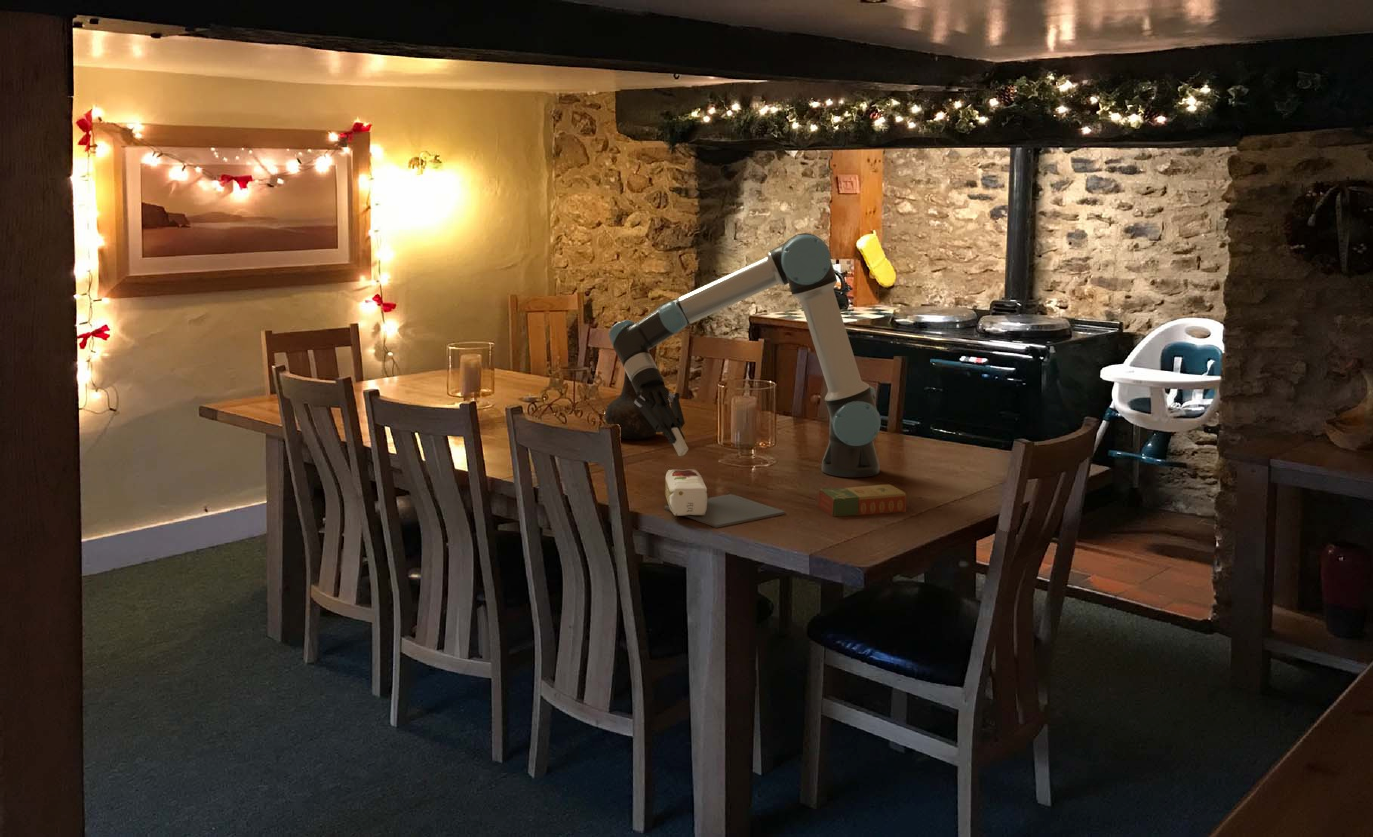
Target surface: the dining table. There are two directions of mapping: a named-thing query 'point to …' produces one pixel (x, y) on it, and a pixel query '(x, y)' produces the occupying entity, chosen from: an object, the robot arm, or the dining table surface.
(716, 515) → the mat
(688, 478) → the juice carton
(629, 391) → the glass bottle
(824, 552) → the dining table surface
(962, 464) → the dining table surface
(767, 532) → the dining table surface
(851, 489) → the carton
